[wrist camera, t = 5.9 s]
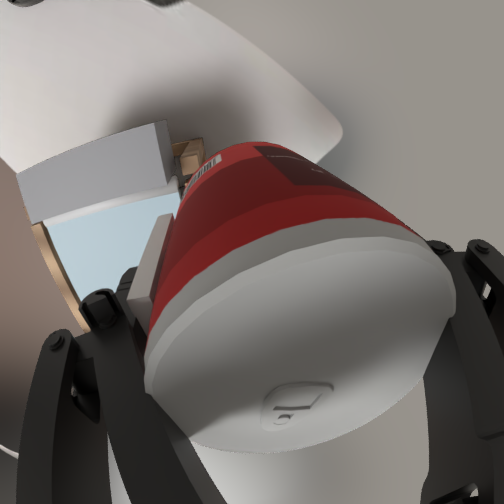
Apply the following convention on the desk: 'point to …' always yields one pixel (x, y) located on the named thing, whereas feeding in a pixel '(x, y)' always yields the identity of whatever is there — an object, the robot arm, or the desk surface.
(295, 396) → the canned food
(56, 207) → the trapdoor
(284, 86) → the desk surface
